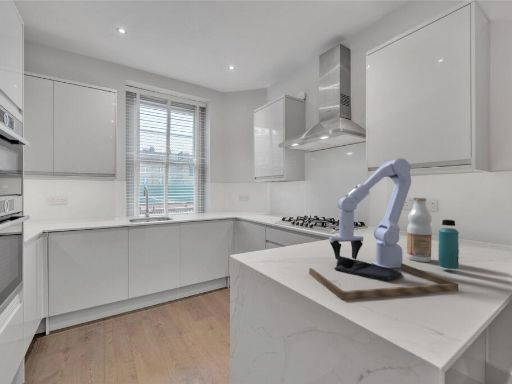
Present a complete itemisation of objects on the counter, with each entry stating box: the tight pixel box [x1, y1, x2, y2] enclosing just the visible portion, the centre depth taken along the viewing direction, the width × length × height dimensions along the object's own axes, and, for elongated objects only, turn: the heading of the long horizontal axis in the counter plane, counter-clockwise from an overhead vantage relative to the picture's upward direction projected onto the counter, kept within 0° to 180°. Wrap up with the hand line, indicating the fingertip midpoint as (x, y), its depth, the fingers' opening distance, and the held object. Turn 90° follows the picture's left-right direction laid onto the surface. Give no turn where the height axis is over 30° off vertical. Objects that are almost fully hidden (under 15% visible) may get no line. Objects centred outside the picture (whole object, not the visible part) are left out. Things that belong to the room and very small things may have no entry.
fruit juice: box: [406, 197, 432, 263], centre depth 116 cm, size 9×9×28 cm
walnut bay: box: [308, 263, 459, 301], centre depth 87 cm, size 40×22×2 cm, turn 102°
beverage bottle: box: [437, 219, 460, 270], centre depth 100 cm, size 6×7×20 cm
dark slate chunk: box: [333, 255, 403, 281], centre depth 97 cm, size 15×22×5 cm
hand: (345, 258), depth 106 cm, fingers open, 7 cm apart
